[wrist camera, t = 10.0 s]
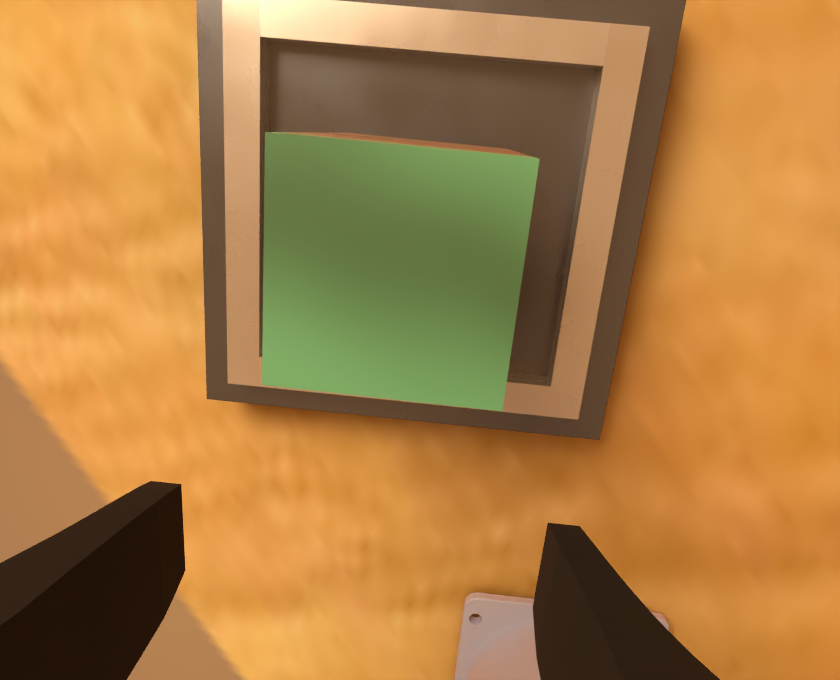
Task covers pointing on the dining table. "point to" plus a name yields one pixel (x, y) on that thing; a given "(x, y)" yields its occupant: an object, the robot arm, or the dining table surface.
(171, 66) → the dining table surface
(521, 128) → the gray square tray
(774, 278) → the dining table surface
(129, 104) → the dining table surface
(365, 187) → the brown and green block
